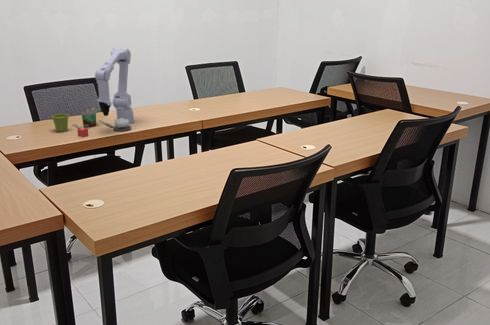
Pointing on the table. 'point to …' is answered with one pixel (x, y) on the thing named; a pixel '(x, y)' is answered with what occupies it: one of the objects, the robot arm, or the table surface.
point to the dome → (121, 122)
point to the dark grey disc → (122, 129)
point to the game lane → (99, 121)
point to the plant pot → (60, 122)
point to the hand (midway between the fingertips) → (106, 115)
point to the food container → (89, 117)
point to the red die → (82, 132)
